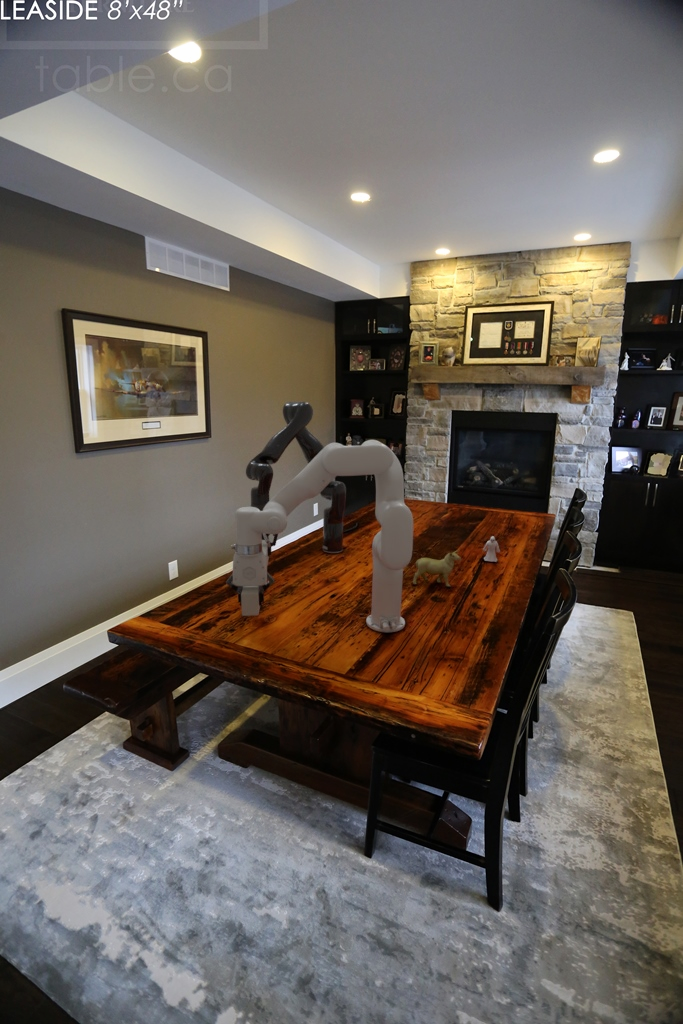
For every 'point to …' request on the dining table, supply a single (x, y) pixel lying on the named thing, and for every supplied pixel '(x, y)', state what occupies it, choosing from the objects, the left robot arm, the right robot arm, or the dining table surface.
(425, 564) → the toy
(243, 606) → the bar
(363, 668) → the dining table surface
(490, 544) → the figurine
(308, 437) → the left robot arm
